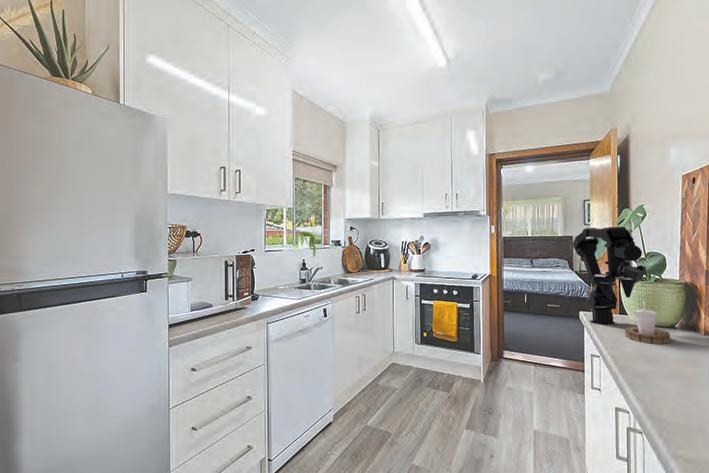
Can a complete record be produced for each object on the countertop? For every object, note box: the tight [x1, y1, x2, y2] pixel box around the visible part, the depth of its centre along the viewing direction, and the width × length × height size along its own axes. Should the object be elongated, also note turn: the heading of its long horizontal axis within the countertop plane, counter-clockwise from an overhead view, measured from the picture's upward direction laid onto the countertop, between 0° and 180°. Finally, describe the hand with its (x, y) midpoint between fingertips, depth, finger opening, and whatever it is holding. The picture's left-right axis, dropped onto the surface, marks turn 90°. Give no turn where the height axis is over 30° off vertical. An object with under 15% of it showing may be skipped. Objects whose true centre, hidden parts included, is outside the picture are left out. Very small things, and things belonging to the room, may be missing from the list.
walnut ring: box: [624, 326, 671, 345], centre depth 121 cm, size 12×12×2 cm
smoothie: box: [633, 299, 658, 335], centre depth 121 cm, size 6×6×14 cm
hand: (619, 298), depth 129 cm, fingers open, 9 cm apart
